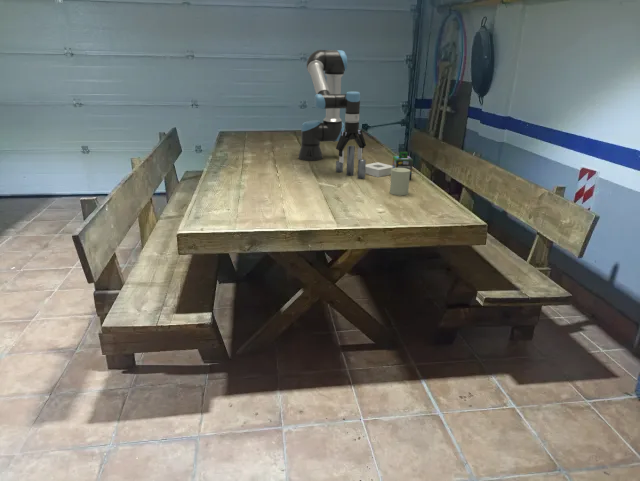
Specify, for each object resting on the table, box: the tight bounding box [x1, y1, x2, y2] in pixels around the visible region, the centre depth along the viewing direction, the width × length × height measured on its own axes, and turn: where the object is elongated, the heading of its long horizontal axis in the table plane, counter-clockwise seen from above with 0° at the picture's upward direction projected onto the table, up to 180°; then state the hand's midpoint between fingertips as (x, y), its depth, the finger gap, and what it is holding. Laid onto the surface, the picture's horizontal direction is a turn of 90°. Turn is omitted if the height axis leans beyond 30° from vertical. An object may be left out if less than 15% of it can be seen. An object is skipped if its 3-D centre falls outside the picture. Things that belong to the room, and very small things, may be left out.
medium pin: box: [357, 158, 367, 180], centre depth 263 cm, size 4×4×10 cm
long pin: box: [346, 145, 356, 177], centre depth 268 cm, size 4×4×16 cm
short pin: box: [335, 160, 344, 174], centre depth 276 cm, size 4×4×6 cm
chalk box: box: [392, 151, 414, 181], centre depth 263 cm, size 9×9×15 cm
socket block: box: [365, 161, 393, 178], centre depth 276 cm, size 14×14×4 cm
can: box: [389, 168, 410, 196], centre depth 237 cm, size 9×9×12 cm
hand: (350, 161), depth 268 cm, fingers open, 13 cm apart
